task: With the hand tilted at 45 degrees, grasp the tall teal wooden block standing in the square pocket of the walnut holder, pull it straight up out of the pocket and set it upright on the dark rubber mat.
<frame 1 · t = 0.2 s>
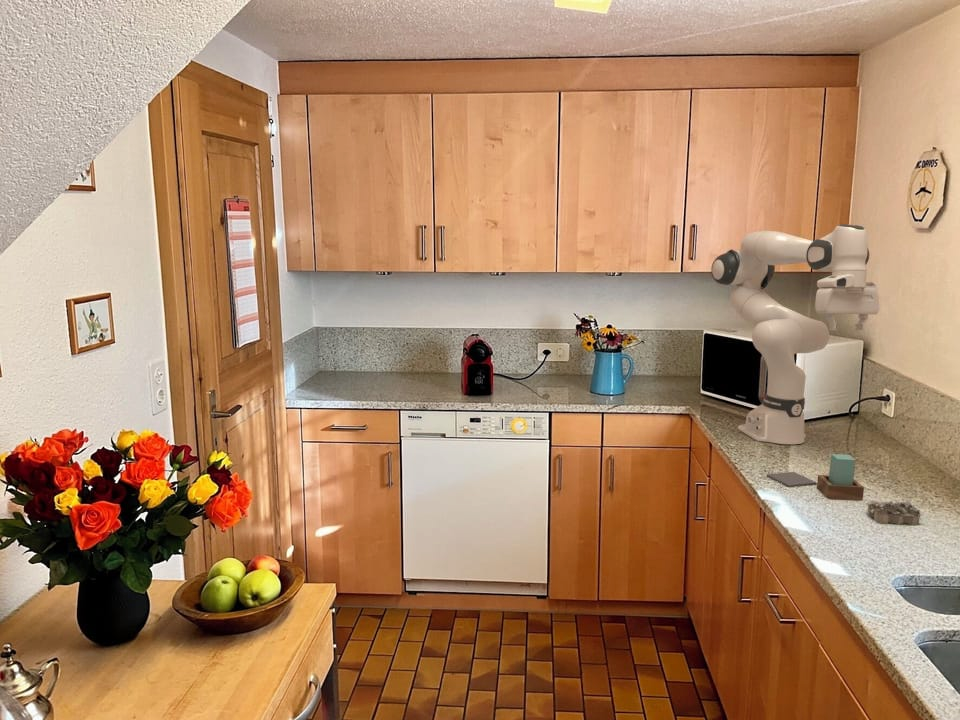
hand: (846, 330, 218), 39 cm above the worktop, tool pointing down, fingers open, 8 cm apart
egg carton: (892, 520, 182), on the worktop
rubber mat: (791, 480, 207), on the worktop
teal block: (841, 475, 197), in the pocket holder
pocket holder: (839, 494, 198), on the worktop
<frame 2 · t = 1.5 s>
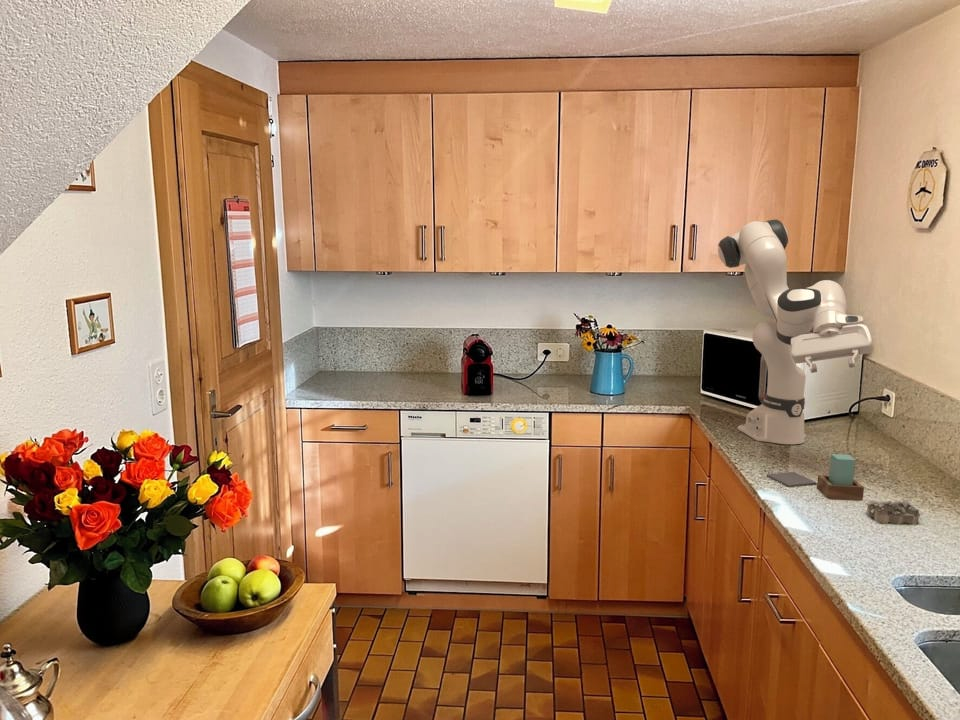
hand: (832, 368, 202), 31 cm above the worktop, tool tilted 50°, fingers open, 8 cm apart
nothing on the worktop moved.
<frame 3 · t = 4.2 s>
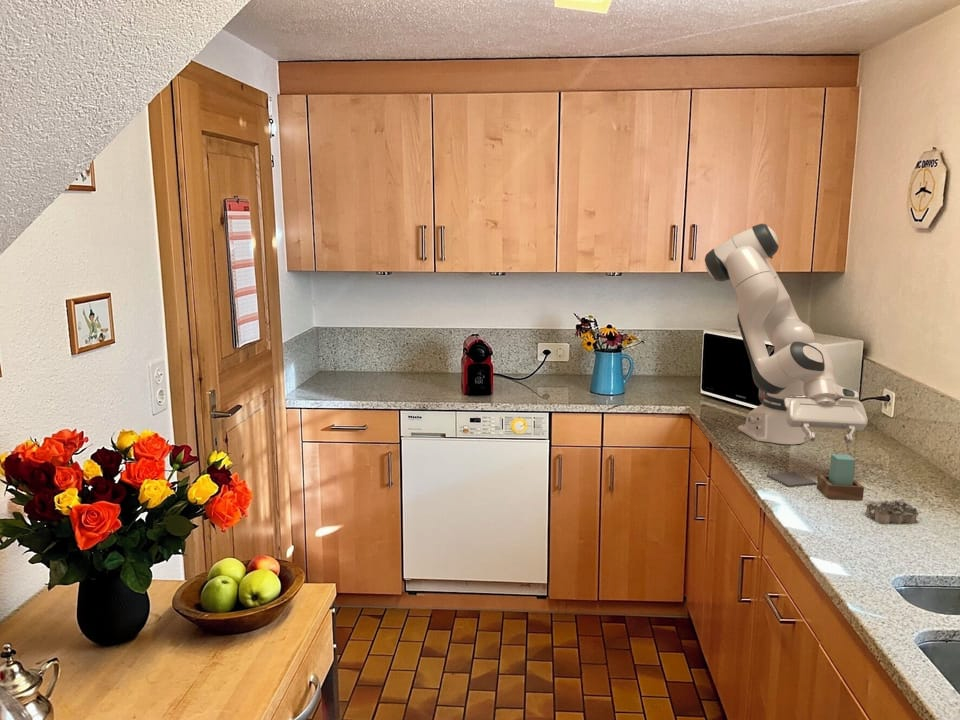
hand: (830, 441, 203), 12 cm above the worktop, tool tilted 45°, fingers open, 8 cm apart
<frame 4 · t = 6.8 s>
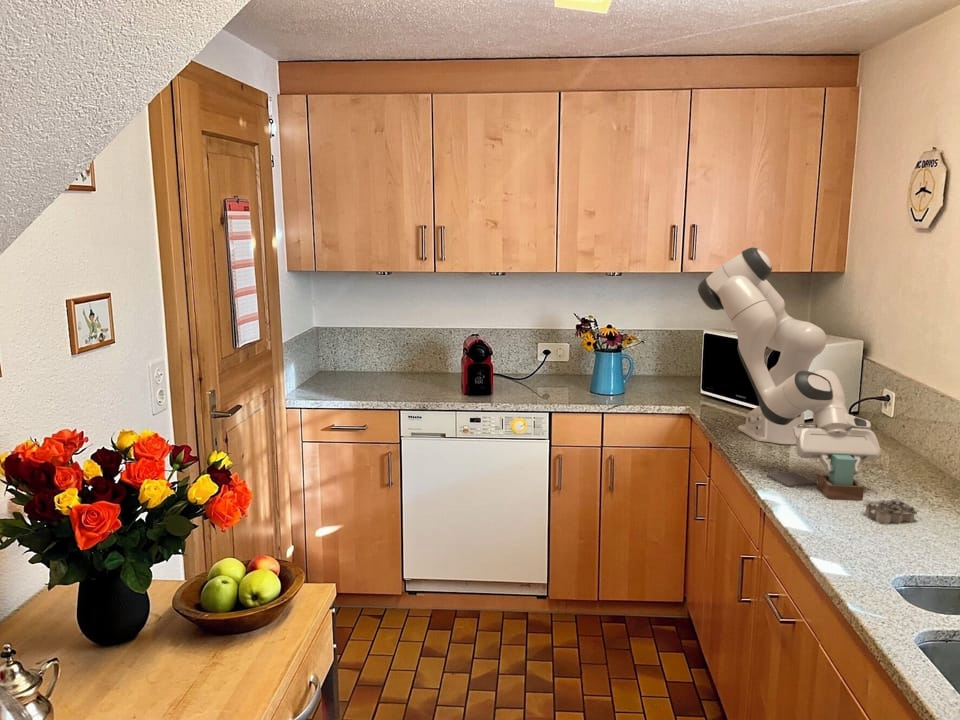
hand: (842, 473, 196), 6 cm above the worktop, tool tilted 45°, fingers closed on teal block, 4 cm apart
teal block: (841, 475, 197), in the pocket holder, touching gripper
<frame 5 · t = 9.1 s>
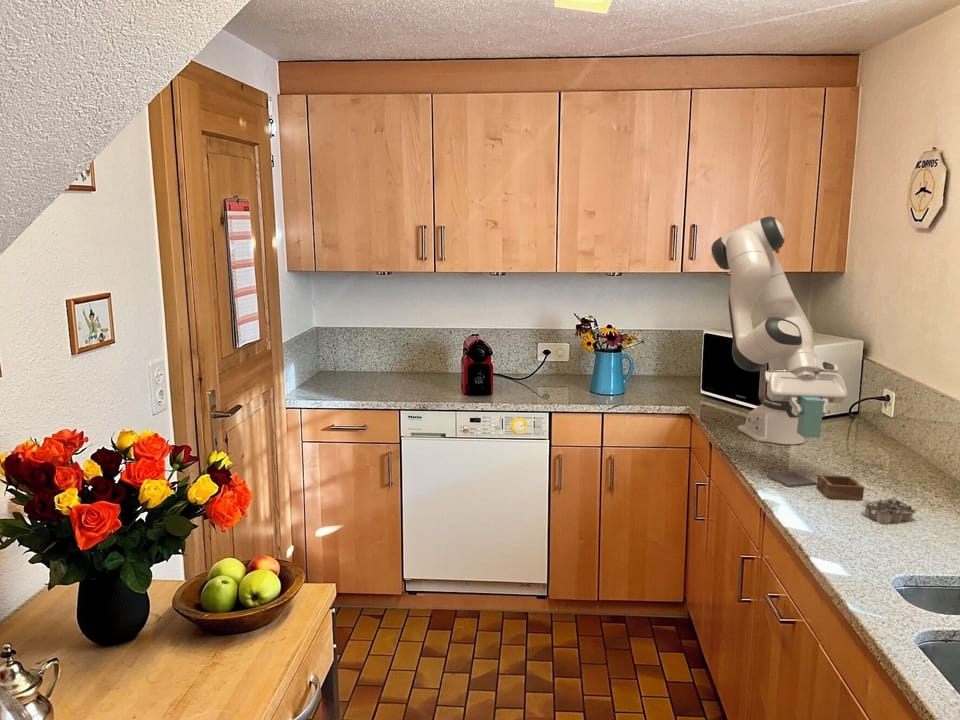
hand: (811, 414, 202), 19 cm above the worktop, tool tilted 45°, fingers closed on teal block, 4 cm apart
teal block: (810, 416, 202), point 18 cm above the worktop, touching gripper
when the fingers open (8 cm above the worktop, at t = 11.9 s): teal block drops 1 cm, resting on rubber mat.
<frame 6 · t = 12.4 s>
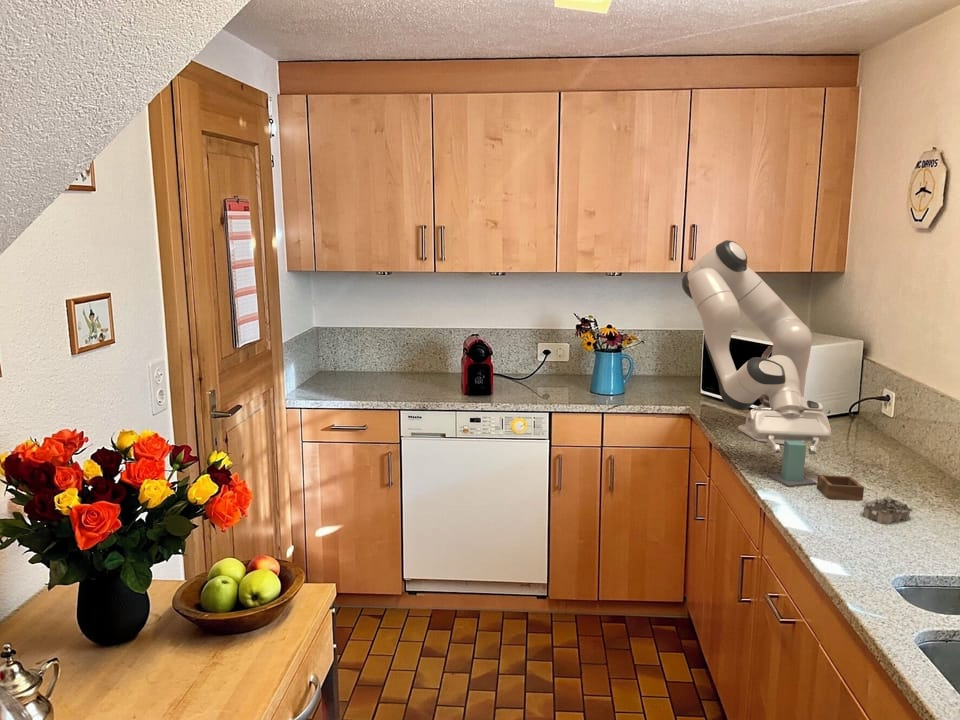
hand: (794, 452, 205), 8 cm above the worktop, tool tilted 45°, fingers open, 8 cm apart
teal block: (793, 460, 206), on the rubber mat, point 6 cm above the worktop
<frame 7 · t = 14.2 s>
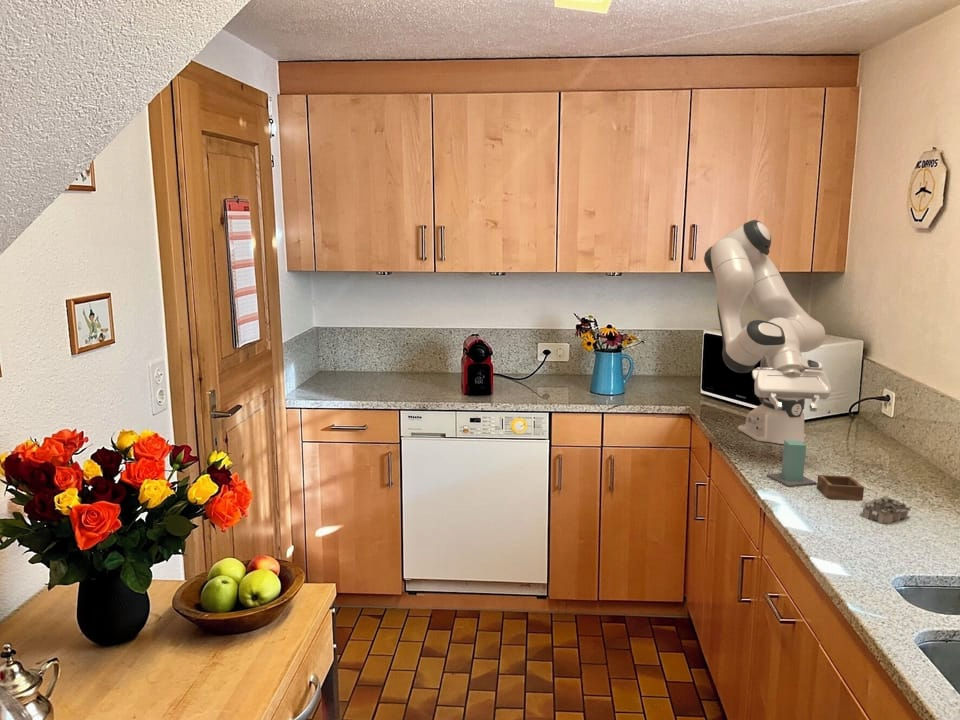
hand: (796, 409, 211), 18 cm above the worktop, tool tilted 45°, fingers open, 8 cm apart
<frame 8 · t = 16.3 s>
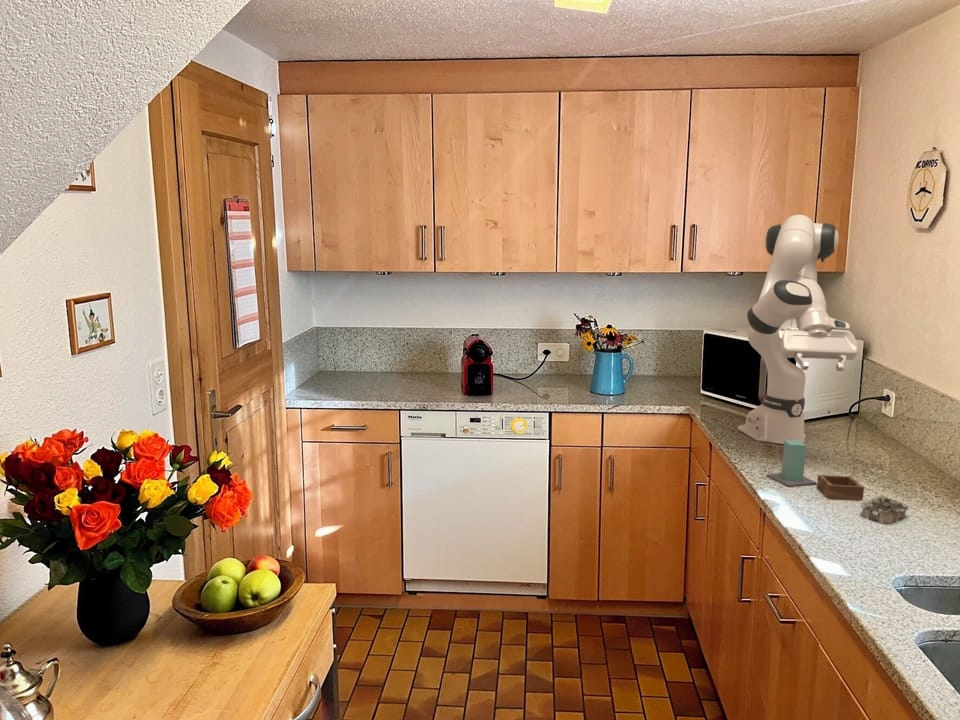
hand: (822, 369, 209), 29 cm above the worktop, tool tilted 45°, fingers open, 8 cm apart
at the end: teal block 0.1 cm off-centre on the rubber mat, point 5.6 cm above the rubber mat's base; teal block tilted 0°; the gripper is holding nothing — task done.
